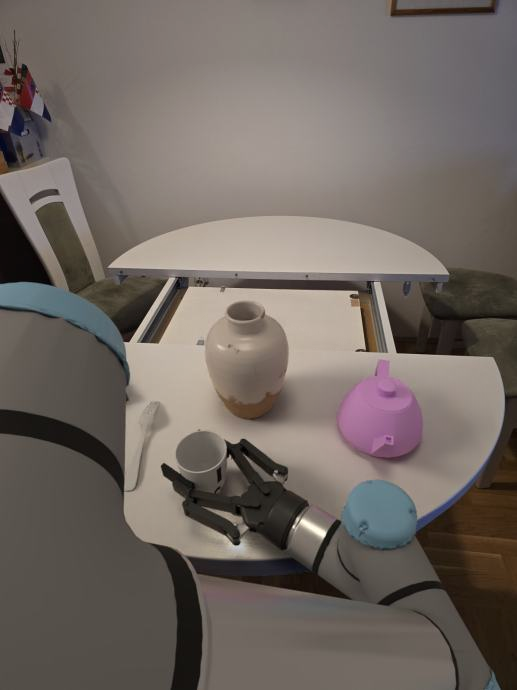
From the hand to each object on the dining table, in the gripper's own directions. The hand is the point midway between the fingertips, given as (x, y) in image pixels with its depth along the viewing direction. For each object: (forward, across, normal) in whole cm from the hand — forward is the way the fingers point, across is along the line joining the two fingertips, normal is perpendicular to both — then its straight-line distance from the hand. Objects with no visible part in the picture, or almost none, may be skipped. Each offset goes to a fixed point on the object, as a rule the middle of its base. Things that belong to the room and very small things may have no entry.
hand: (181, 451), depth 68 cm
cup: (-5, 0, -6) cm, 8 cm away
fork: (+12, 0, -6) cm, 13 cm away
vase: (+1, +20, -6) cm, 21 cm away
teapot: (-24, +28, -6) cm, 37 cm away
